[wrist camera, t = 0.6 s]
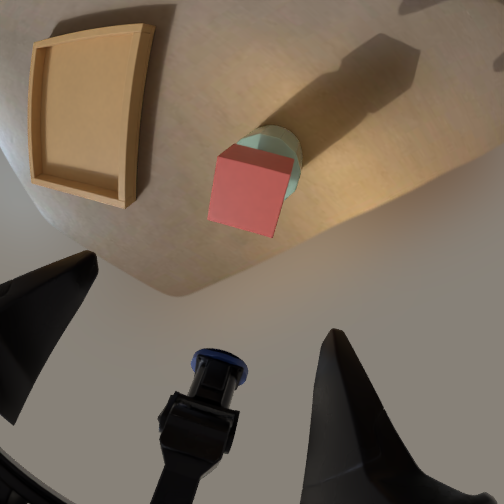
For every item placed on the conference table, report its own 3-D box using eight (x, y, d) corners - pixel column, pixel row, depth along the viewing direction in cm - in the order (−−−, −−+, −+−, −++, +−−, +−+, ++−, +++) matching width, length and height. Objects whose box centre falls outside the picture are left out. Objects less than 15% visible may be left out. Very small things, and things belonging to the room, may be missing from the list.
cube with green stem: (287, 181, 22) (272, 238, 14) (245, 169, 22) (207, 219, 14) (299, 140, 20) (290, 174, 12) (254, 128, 20) (217, 155, 12)
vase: (293, 188, 22) (288, 214, 18) (238, 173, 22) (219, 195, 18) (309, 134, 20) (308, 146, 16) (249, 118, 20) (232, 127, 16)
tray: (136, 200, 26) (125, 209, 24) (42, 177, 26) (31, 183, 25) (155, 26, 16) (143, 22, 15) (46, 41, 17) (33, 42, 15)
